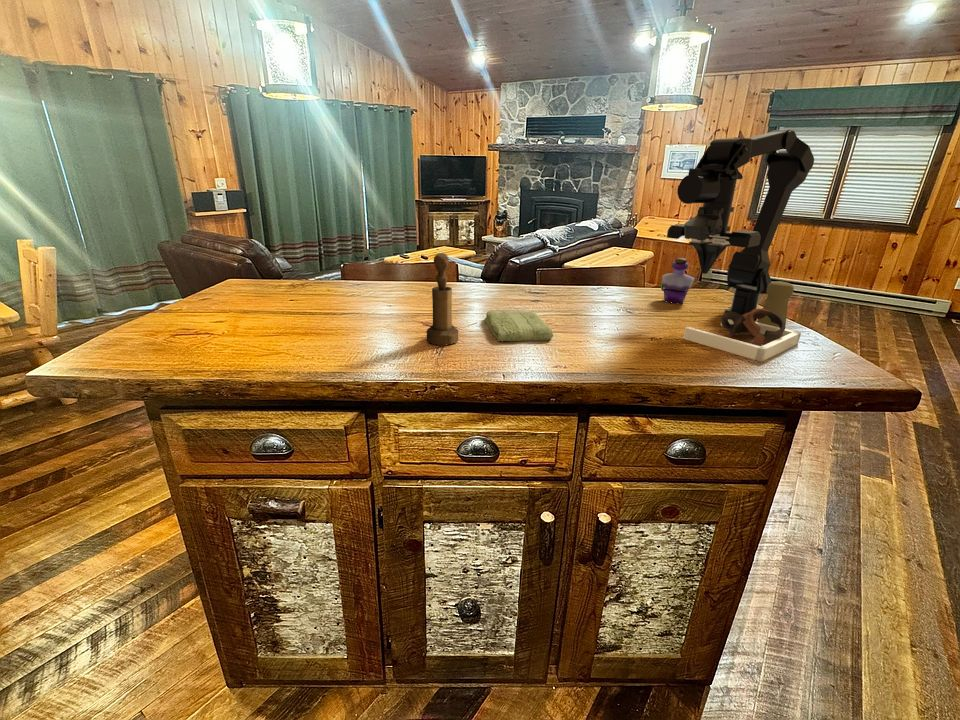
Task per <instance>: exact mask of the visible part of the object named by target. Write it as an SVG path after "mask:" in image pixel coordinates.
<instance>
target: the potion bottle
mask: <svg viewBox="0 0 960 720" xmlns="http://www.w3.org/2000/svg"><path fill="white" fill-rule="evenodd" d="M674 259H675V260H674V261H673V262H672V263H671V269H673V272H671V273H665V274H663V275H662V276H661V283H660V289H661V291H662V292H663V301H664V300H665V301H667V302H672V303H671V304H673V303H679V304H681V305H682V304H684V303H685V299H686V297H687V295H688V292H689V290H690V289H691V287H692V285H693V283H694V281H695V277H693V276H691V275H689V274H685V271H686V270H688V269H689V267H690V266H689V265H690V263H688V259H687V258H685V257H676V258H674ZM665 301H664V302H665ZM667 302H666V303H667ZM683 302H684V303H683ZM679 304H678V305H679Z"/></svg>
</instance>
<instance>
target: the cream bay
mask: <svg viewBox="0 0 960 720" xmlns="http://www.w3.org/2000/svg"><path fill="white" fill-rule="evenodd" d="M723 315H724V314H723ZM723 315H721V317H722V316H723ZM728 322H729V323H730V324H734V323H733V321H732V320H728ZM755 323H756V324H757V325H759V326H760V327H761V328H760V331H759V332H760V333H762V334H763V335H764V334H765V331H766V330H768V331H778V330H779V329H780V328H779V327H775V326H771V325H766V324H762V323H758V322H757V321H755ZM720 327H723V326H722V323H721V322H720ZM801 335H802V333H801V332H799V331H796V330H790V329H787V328H785V330H784V331H783V337H781V338H779V339H777V340H774V341H772V342H770V343H768V344H765V345H761V346H757V345H753V344H750V342H745V341H741V340H738V339H734V338H731V337H727V336H724V335H720V334H715V333H712V332H709V331H704V330H701V329H697V328H694V327H690V326H686V327H685V328H684V333H683V340H686V341H690V342H693V343H696V344H700V345H703V346H707V347H709V348H714V349H716V350H721V351H724V352H727V353H731V354H733V355H737V356H741V357H744V358H747V359H750V360H754V361H758V362H761V363H762V362H764V361H766V360H767V359H768V360H769V359H770V358H772V357H774V356H776V355H779V354H780V353H782V352H785V351H786V350H788V349H790V348H792V346H793V347H795V346H796V344H797V345H799V342H800V339H801ZM794 345H795V346H794Z"/></svg>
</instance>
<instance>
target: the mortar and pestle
mask: <svg viewBox="0 0 960 720" xmlns="http://www.w3.org/2000/svg"><path fill="white" fill-rule="evenodd" d="M449 263H450V259H449V257H448V255H447V254H446V253H443V252H442V253H441V252H440V253H436V254H435V255H434V257H433V264H434V266H435V268H436V269H437V275H436V276H435V277H436V278H435V279H436V283H437V286H433V287H432V288H431V294H432V297H431V298H432V325H430V326H429V327H428V328H427V329H426V342H427V341H428V342H429V344H430V343H432V344H431V345H435V344H437V345H436V346H449V345H448V344H452V345H454V344H453V343H455V344H456V342H457V341H458V342H459V330H458V329H457V328H456V327H455V326H454V325H453V322H452V321H453V315H452V313H453V312H452V311H453V308H452V305H453V304H452V303H453V301H452V299H453V298H452V297H453V296H452V295H453V291H452V290H453V289H452V287H450V286H447V283H448V276H447V273H446V270H447V268H448V266H449ZM428 342H427V343H428ZM458 342H457V343H458ZM446 344H447V345H446Z"/></svg>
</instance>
